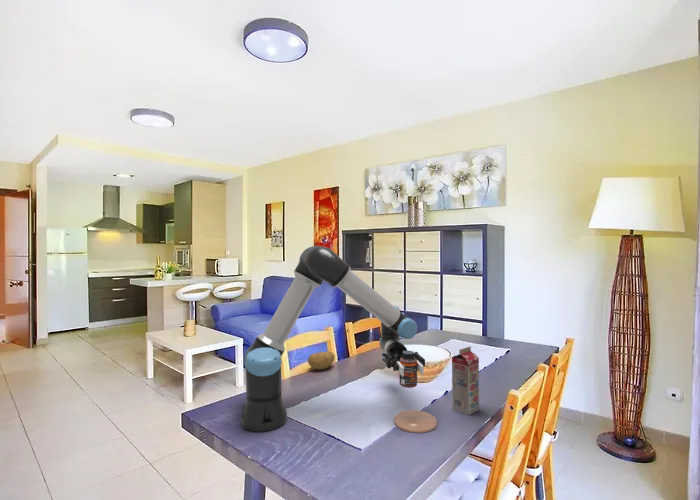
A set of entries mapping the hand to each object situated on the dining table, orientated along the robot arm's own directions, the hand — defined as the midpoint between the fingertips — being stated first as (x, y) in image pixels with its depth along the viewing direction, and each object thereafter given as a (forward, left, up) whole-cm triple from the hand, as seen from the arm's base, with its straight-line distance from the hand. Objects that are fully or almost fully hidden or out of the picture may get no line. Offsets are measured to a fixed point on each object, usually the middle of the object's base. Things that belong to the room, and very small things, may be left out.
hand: (412, 371), depth 123 cm
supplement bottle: (+4, +3, -7) cm, 8 cm away
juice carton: (+20, -14, -18) cm, 30 cm away
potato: (+39, +55, -18) cm, 70 cm away
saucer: (+3, 0, -18) cm, 18 cm away
